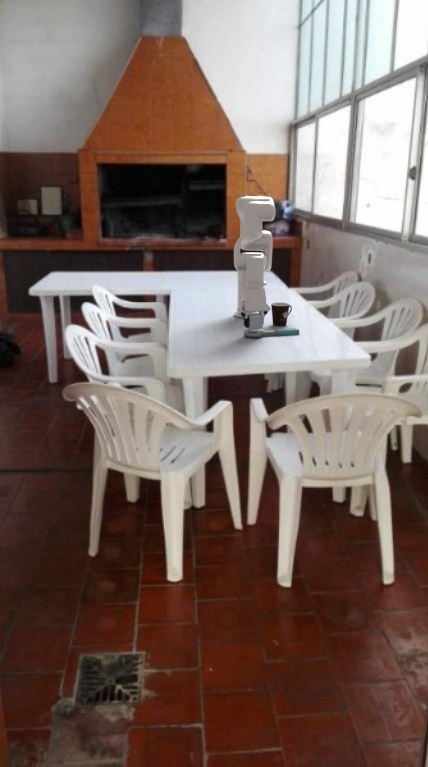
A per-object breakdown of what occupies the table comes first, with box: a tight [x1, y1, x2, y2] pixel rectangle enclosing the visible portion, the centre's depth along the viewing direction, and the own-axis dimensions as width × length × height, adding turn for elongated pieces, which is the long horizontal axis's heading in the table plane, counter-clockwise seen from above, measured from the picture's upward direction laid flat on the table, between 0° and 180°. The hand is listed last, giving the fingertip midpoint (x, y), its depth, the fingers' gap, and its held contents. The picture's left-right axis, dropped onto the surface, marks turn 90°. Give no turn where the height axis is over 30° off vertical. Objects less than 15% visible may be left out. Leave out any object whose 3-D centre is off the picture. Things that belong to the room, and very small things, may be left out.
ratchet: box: [243, 327, 300, 340], centre depth 259 cm, size 8×26×6 cm, turn 108°
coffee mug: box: [270, 302, 293, 328], centre depth 279 cm, size 12×9×10 cm
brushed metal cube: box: [245, 312, 264, 330], centre depth 255 cm, size 6×6×6 cm
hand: (253, 326), depth 256 cm, fingers closed on brushed metal cube, 6 cm apart
